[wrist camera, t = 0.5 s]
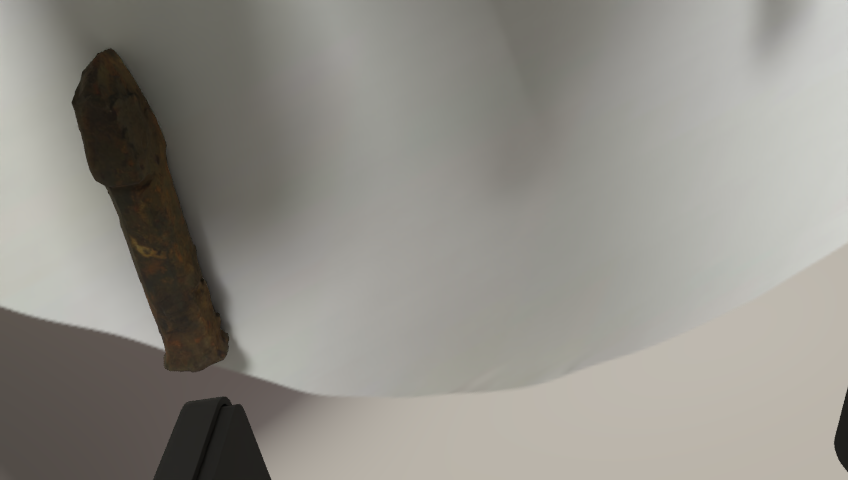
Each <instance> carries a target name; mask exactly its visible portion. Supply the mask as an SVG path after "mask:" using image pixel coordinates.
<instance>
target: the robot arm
mask: <svg viewBox="0 0 848 480" xmlns="http://www.w3.org/2000/svg"><path fill="white" fill-rule="evenodd" d="M834 445H835V451H836V454H837V456H838V459H839V461H840V462H841V464H842V465H843V467H844V468H845V469H846V470H847V472H848V389H847V393H846V396H845V400H844V404H843V408H842V412H841V416H840V420H839V423H838V427H837V431H836V435H835V441H834ZM153 480H271V478H270V475H269V473H268V470H267V468H266V465H265V462H264V460H263V457H262V455H261V452H260V449H259V447H258V444H257V442H256V439H255V437H254V434H253V431H252V429H251V426H250V424H249V421H248V418H247V416H246V413H245V411H244V409H243V407H242V406H241V405H240V404H236V405H232V404H231V402H230V400H229V399H228V398H227V397H216V398H210V399H203V400H196V401H189V402H187V403H186V404H185V405H184V406H183V408H182V410H181V412H180V415H179V417H178V420H177V422H176V425H175V427H174V429H173V432H172V434H171V437H170V439H169V442H168V444H167V447H166V449H165V452H164V454H163V456H162V459H161V461H160V464H159V467H158V469H157V471H156V474H155V476H154V479H153Z"/></svg>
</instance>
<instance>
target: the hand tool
mask: <svg viewBox="0 0 848 480" xmlns="http://www.w3.org/2000/svg"><path fill="white" fill-rule="evenodd" d="M72 105H73V107H74V110H75V115H76V118H77V122H78V127H79V130H80V132H81V135H82V140H83V144H84V149H85V154H86V159H87V162H88V166H89V169H90V171H91V173H92V175H93V177H94V179H95V180H96V181H97V182H99V183H101V184H103V185H104V186H105V187H106V189H107V190H108V194H109V195H110V197H111V199H112V201H113V204H114V206H115V209H116V211H117V214H118V216H119V219H120V225H121V228H122V231H123V233H124V236H125V239H126V241H127V244H128V247H129V250H130V253H131V256H132V260H133V262H134V265H135V268H136V270H137V273H138V276H139V279H140V282H141V283H142V286H143V289H144V292H145V295H146V298H147V300H148V303H149V306H150V309H151V311H152V314H153V316H154V318H155V321H156V323H157V326H158V329H159V332H160V334H161V336H162V339H163V343H164V346H165V351H166V353H165V355H164V366H165V369H167V370H169V371H180V372H182V371H191V372H197V371H200V370H203V369H205V368H206V367H208V366H210V365H212V364H214V363H217V362H219V361H222V360H224V358H225V357H226V355H227V352H228V348H229V346H228V341H229V337H228V333H226V332H224V331H223V330H221V329H220V325H221V320H220V314H219V313H216V312H215V311H214V309H213V305H212V302H211V297H210V292H209V289H208V287H207V283H206V281H205V280H204V279H203V276H202V273H201V269H200V266H199V264H198V260H197V253H196V247H195V245H194V244H193V242H192V240H191V237H190V234H189V231H188V228H187V224H186V222H185V219H184V216H183V213H182V210H181V207H180V203H179V200H178V197H177V194H176V191H175V188H174V185H173V181H172V178H171V175H170V172H169V169H168V165H167V159H166V151H165V150H166V142H165V139H164V136H163V134H162V131H161V129H160V127H159V124H158V122H157V120H156V118H155V115H154V114H153V112H152V110H151V108H150V106H149V105H148V103H147V101H146V99H145V97H144V96H143V94H142V92H141V90H140V88H139V87H138V85H137V83H136V82H135V80H134V78H133V77H132V75H131V74H130V72H129V71H128V69H127V68H126V67H125V65H124V64H123V62H122V60H121V59H120V57H119V56H118V55H117V53H116V52H115V51H114V50H112V49H111V48H110V49H107V50H104V51H103V52H100V53H97V55H96V57H95V58H94V59H93V61H92V62H90V64H89V65H88V66H87V67H86V69H85V70H84V71H83V72H82V76H81V80H80V83H79V85H78V87H77V89H76V91H75V95H74V98H73V100H72Z"/></svg>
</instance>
